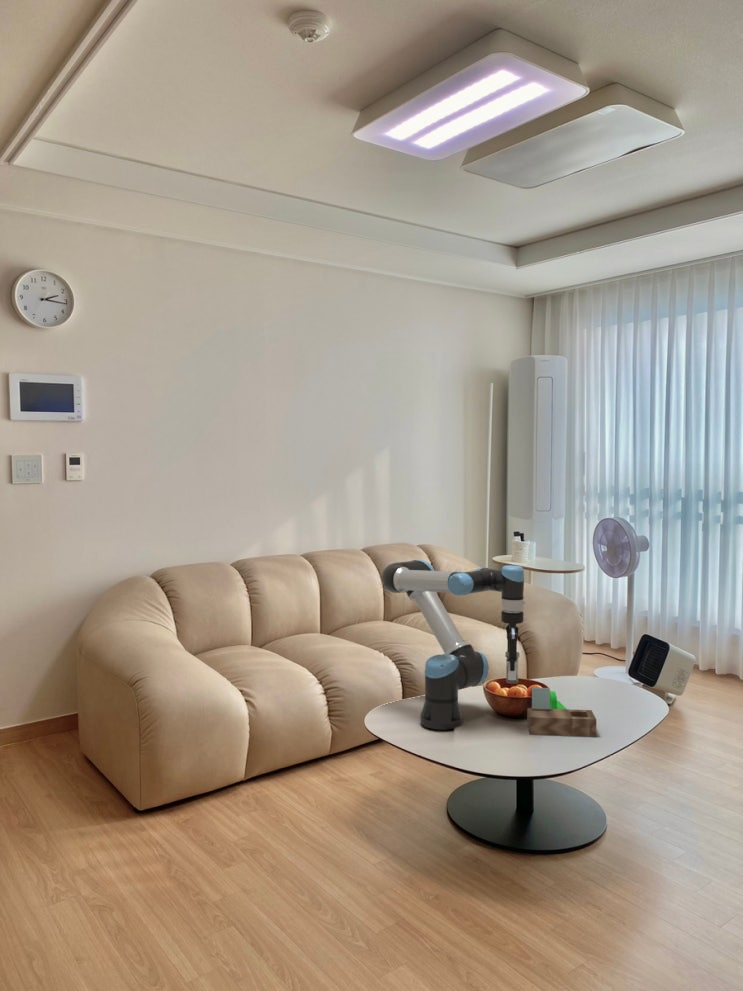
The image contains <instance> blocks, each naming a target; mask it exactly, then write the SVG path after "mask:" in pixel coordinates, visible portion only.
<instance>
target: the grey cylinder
mask: <svg viewBox="0 0 743 991" xmlns="http://www.w3.org/2000/svg"><path fill="white" fill-rule="evenodd" d="M504 655H505V657H506V662H505V663H506V664H505V665H506V668H505V669H506V673H505V674H506V683H507V684H509V685H510V684H513V685H515V684H518V683H519V658H520V652H519V651H517V661H516V680H508V661H507V659H509V651H508V652H507V651H505V654H504Z"/></svg>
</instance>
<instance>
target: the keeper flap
mask: <svg viewBox="0 0 743 991" xmlns="http://www.w3.org/2000/svg"><path fill="white" fill-rule="evenodd" d="M550 691H551V689H550V687H531V707H530V708H531V709H532V710H550Z"/></svg>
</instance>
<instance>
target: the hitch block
mask: <svg viewBox="0 0 743 991" xmlns="http://www.w3.org/2000/svg"><path fill="white" fill-rule="evenodd" d="M526 709H527V710H526V712H527V714H526V715H527V716H526V717H527V718H526V720H527V721H526V722H527V730H528V733H529V734H528V735H529V736H530V735H531V736H558V737H578V738H579V737H580V738H581V737H583V738H588V737H589V738H597V718H596V716H595V714H594V712H593V710H592V709H570V708H569V709H567V708H566V709H550V710H532V709H531V707H527V708H526Z"/></svg>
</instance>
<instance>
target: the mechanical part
mask: <svg viewBox="0 0 743 991" xmlns="http://www.w3.org/2000/svg"><path fill="white" fill-rule="evenodd" d="M557 698H558V696H557V693H556V691H555V690H554V691H551V690H550V709H567V707H565V706H564V704H562V703H561V701H558V699H557Z"/></svg>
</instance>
